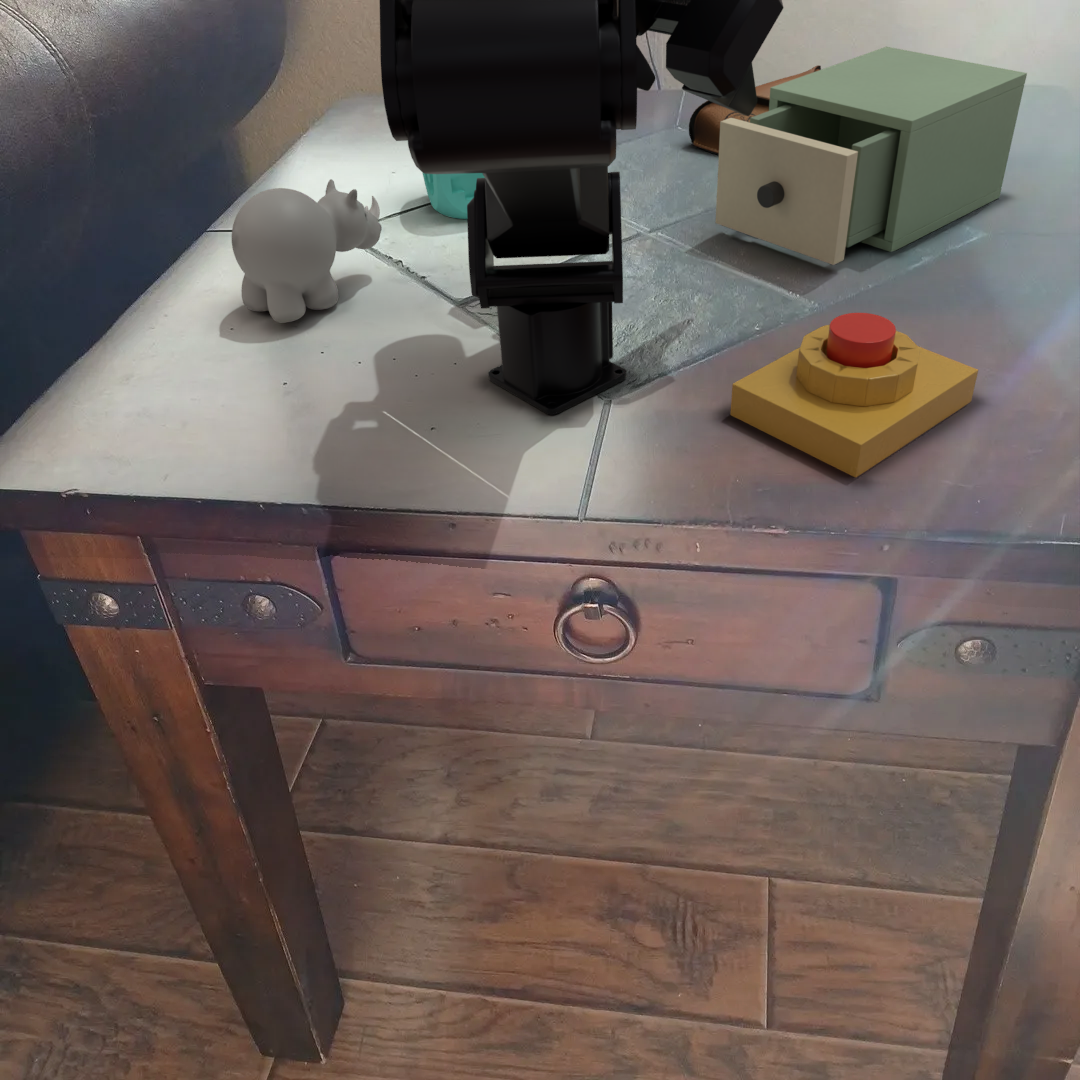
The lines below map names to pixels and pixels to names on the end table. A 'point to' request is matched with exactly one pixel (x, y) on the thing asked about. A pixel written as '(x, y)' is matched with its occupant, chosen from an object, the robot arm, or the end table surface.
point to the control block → (852, 400)
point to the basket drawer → (806, 179)
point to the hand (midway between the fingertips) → (699, 96)
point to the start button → (860, 340)
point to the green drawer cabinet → (923, 129)
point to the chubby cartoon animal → (298, 247)
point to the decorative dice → (451, 192)
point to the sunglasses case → (729, 115)
